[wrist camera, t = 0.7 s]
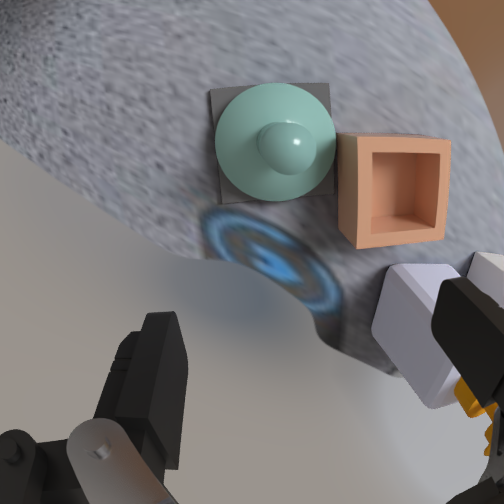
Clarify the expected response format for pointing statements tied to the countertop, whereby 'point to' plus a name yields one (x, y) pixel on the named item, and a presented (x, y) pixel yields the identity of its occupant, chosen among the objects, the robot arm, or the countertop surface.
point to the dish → (392, 188)
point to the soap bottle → (421, 338)
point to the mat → (219, 104)
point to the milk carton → (488, 275)
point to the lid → (275, 142)
